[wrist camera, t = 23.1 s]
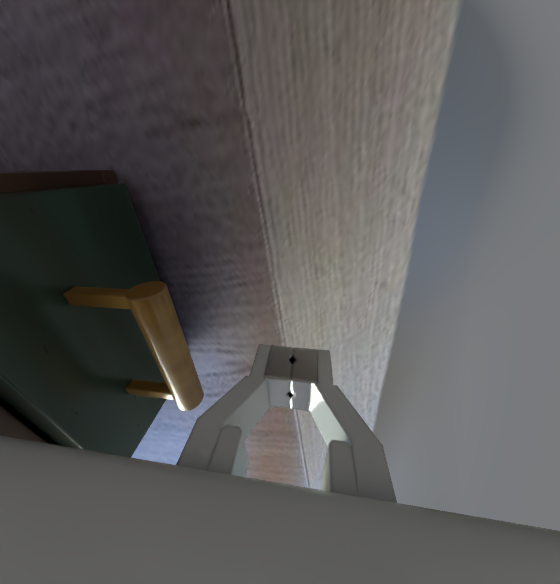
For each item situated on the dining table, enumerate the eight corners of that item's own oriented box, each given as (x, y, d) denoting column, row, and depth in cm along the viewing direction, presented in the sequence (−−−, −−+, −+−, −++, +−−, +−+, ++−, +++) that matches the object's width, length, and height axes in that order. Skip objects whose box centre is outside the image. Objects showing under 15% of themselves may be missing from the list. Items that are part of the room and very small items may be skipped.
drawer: (202, 182, 10) (2, 216, 4) (236, 365, 17) (191, 492, 11) (-114, 185, 12) (-605, 210, 6) (31, 347, 19) (-114, 442, 13)
